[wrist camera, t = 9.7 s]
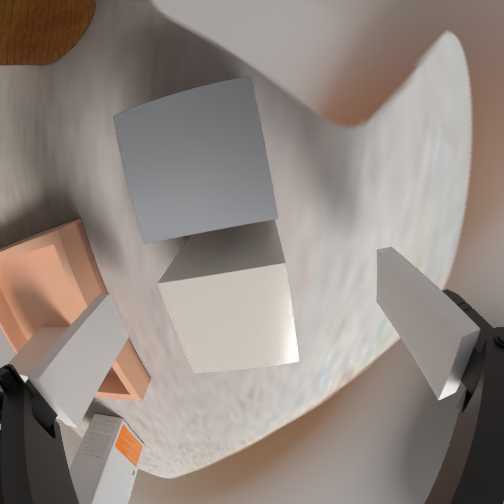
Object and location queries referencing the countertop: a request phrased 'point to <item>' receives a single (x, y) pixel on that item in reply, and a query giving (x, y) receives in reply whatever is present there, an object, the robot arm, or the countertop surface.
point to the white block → (36, 350)
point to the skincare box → (106, 462)
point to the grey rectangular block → (196, 161)
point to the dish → (60, 298)
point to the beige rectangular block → (232, 299)
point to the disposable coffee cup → (41, 29)
